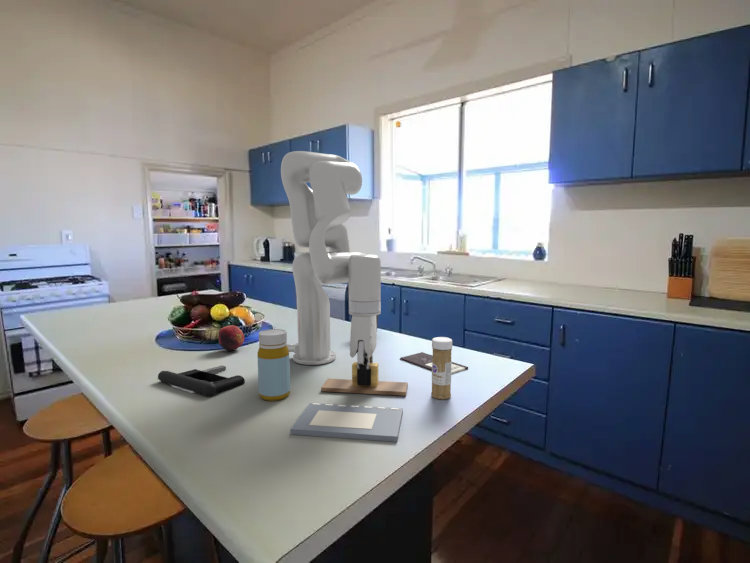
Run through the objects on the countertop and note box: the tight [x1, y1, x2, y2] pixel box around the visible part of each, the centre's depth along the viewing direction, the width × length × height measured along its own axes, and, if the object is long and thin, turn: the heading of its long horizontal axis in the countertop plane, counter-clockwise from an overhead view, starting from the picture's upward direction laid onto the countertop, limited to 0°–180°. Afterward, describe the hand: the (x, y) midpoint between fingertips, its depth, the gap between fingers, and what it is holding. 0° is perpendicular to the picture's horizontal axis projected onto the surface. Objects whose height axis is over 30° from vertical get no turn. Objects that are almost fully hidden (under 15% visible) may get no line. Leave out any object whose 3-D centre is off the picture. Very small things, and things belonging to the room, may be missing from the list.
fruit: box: [218, 324, 245, 352], centre depth 131 cm, size 8×8×8 cm
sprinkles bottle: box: [430, 336, 453, 400], centre depth 93 cm, size 5×5×14 cm
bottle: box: [257, 328, 291, 402], centre depth 94 cm, size 7×7×15 cm
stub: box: [320, 361, 409, 397], centre depth 98 cm, size 20×6×6 cm, turn 81°
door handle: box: [157, 365, 246, 398], centre depth 104 cm, size 3×20×16 cm
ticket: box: [289, 402, 404, 443], centre depth 81 cm, size 20×12×1 cm, turn 81°
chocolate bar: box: [399, 351, 469, 375], centre depth 117 cm, size 9×1×18 cm
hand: (365, 381), depth 99 cm, fingers closed on stub, 2 cm apart
